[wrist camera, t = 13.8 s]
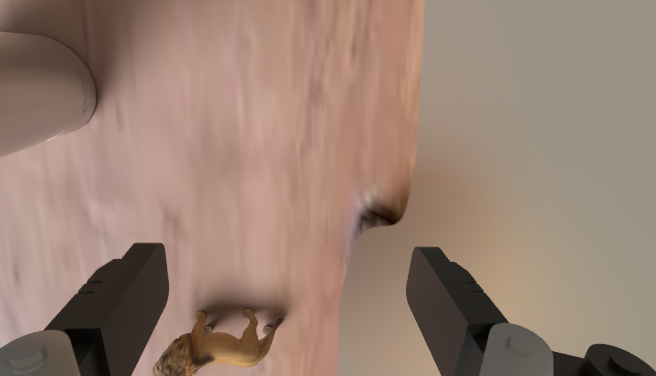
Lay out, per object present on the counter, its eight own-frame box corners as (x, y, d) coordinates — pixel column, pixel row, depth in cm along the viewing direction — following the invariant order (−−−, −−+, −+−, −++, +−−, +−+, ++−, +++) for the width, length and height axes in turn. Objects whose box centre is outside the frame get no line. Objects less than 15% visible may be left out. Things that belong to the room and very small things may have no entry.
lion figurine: (177, 344, 46) (152, 408, 38) (167, 313, 44) (138, 374, 36) (286, 329, 47) (285, 389, 39) (281, 298, 45) (279, 354, 37)
